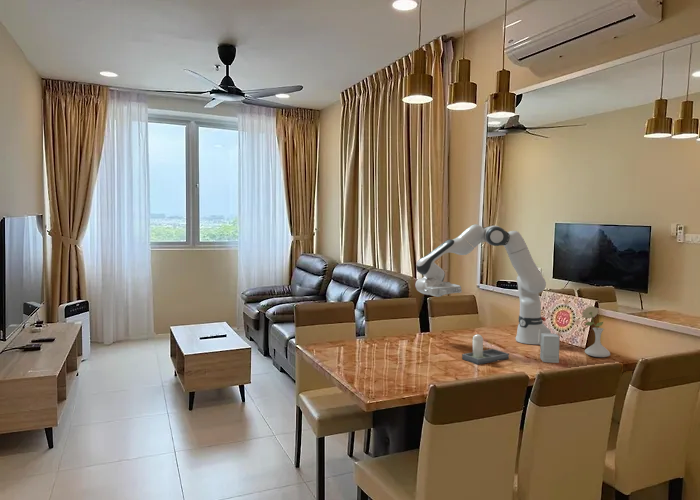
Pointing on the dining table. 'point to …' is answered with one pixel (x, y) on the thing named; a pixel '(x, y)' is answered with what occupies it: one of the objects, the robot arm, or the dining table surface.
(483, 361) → the caddy
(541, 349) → the supplement box
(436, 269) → the robot arm
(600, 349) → the flower in vase
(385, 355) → the dining table surface
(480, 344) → the white round-topped cylinder
